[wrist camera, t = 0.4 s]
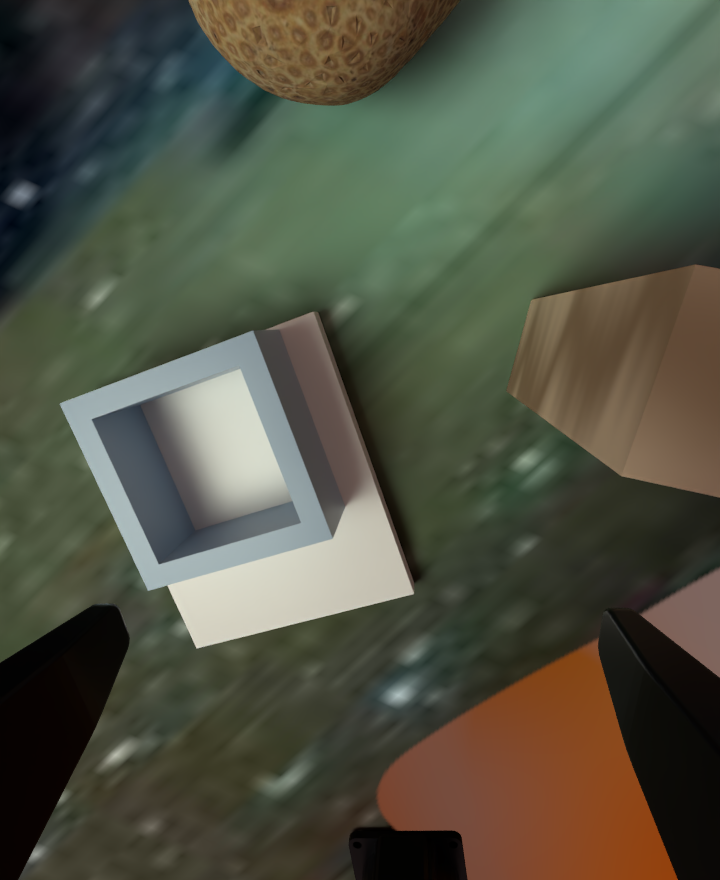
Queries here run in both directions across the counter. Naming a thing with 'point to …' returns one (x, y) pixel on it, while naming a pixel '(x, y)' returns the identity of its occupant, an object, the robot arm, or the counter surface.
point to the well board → (245, 483)
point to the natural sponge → (320, 42)
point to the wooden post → (631, 374)
